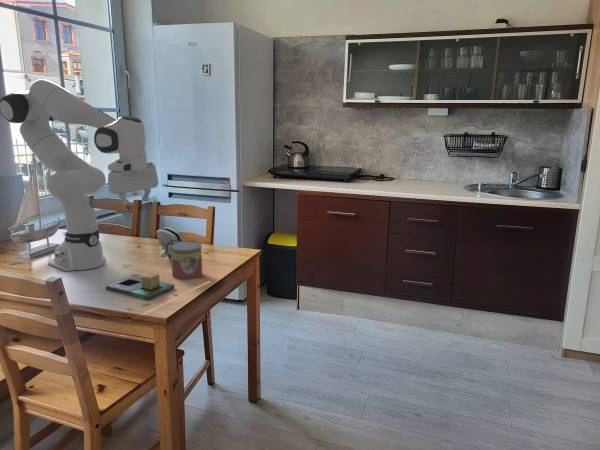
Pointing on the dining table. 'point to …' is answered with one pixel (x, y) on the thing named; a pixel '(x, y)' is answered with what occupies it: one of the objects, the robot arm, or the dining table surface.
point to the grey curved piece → (168, 235)
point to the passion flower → (169, 248)
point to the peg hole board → (138, 288)
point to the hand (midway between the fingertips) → (135, 203)
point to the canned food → (186, 260)
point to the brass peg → (150, 282)
